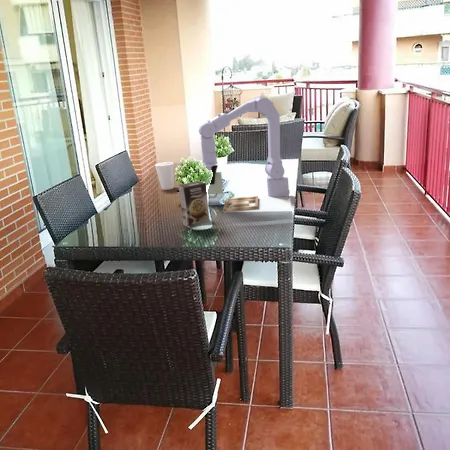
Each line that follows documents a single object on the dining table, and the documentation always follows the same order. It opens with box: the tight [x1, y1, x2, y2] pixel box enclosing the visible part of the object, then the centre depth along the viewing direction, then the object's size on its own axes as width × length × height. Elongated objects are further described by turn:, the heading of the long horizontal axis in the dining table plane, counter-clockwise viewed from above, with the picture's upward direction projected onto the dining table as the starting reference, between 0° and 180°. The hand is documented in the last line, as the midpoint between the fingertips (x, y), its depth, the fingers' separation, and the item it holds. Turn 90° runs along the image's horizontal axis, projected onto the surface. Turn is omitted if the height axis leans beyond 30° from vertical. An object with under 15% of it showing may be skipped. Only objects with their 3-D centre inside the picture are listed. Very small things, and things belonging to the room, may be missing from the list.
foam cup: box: [154, 161, 175, 191], centre depth 250 cm, size 10×9×13 cm
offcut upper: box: [231, 201, 250, 207], centre depth 198 cm, size 7×4×2 cm, turn 92°
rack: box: [222, 195, 259, 212], centre depth 203 cm, size 14×16×2 cm
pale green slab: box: [207, 171, 224, 196], centre depth 206 cm, size 8×2×9 cm, turn 86°
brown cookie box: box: [178, 181, 210, 229], centre depth 186 cm, size 9×6×16 cm
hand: (212, 183), depth 206 cm, fingers closed on pale green slab, 2 cm apart
